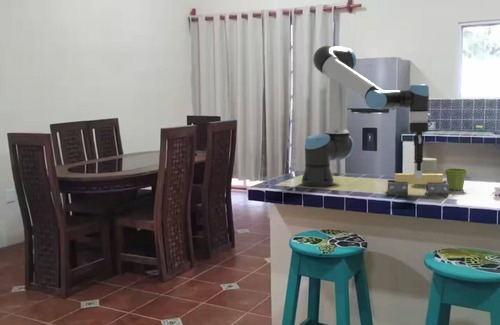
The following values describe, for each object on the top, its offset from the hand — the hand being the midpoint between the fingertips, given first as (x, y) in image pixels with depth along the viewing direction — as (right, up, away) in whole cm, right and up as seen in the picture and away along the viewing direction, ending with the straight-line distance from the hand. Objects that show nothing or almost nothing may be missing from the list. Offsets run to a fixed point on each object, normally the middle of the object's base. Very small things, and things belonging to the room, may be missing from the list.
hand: (418, 177), depth 215 cm
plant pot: (+20, -6, +10) cm, 23 cm away
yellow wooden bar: (0, -3, 0) cm, 3 cm away
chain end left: (-8, -7, +3) cm, 11 cm away
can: (+12, -4, +26) cm, 29 cm away
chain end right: (+8, -7, -1) cm, 10 cm away
